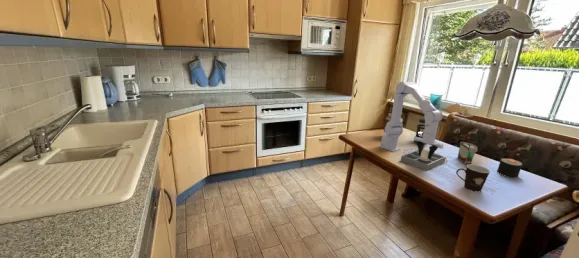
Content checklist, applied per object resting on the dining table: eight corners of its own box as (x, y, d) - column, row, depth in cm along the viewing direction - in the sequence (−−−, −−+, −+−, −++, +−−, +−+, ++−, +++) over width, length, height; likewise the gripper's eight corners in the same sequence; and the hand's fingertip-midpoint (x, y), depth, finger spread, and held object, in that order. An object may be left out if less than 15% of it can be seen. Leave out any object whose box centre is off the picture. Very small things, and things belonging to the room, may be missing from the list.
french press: (410, 139, 181) (416, 109, 174) (421, 139, 182) (427, 109, 176) (420, 145, 169) (427, 112, 163) (432, 145, 171) (440, 112, 164)
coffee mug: (484, 188, 115) (490, 168, 112) (483, 195, 109) (489, 174, 106) (455, 179, 122) (460, 160, 119) (452, 185, 116) (457, 166, 113)
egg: (418, 158, 135) (420, 149, 133) (422, 157, 138) (424, 147, 136) (426, 161, 132) (428, 151, 130) (430, 159, 134) (432, 150, 133)
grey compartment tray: (400, 160, 142) (401, 155, 141) (419, 153, 154) (420, 148, 153) (426, 170, 131) (427, 165, 130) (444, 161, 143) (445, 156, 142)
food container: (477, 166, 139) (482, 149, 136) (465, 165, 140) (470, 148, 137) (467, 158, 151) (471, 142, 148) (456, 156, 152) (460, 141, 149)
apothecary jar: (379, 137, 184) (382, 113, 179) (388, 134, 191) (392, 111, 186) (393, 141, 174) (398, 117, 169) (403, 139, 181) (407, 115, 176)
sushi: (493, 171, 134) (497, 157, 131) (505, 170, 136) (509, 156, 133) (509, 178, 126) (514, 164, 124) (521, 177, 128) (526, 163, 126)
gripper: (448, 135, 127) (442, 159, 131) (420, 128, 138) (415, 151, 142) (441, 137, 123) (436, 162, 127) (413, 130, 134) (409, 153, 138)
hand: (424, 156), depth 134 cm, fingers closed on egg, 4 cm apart
